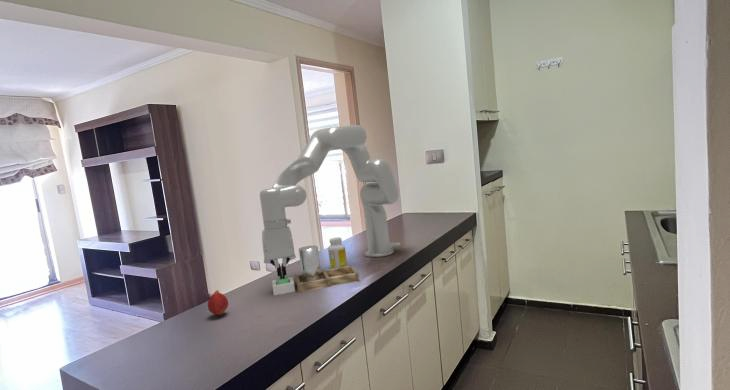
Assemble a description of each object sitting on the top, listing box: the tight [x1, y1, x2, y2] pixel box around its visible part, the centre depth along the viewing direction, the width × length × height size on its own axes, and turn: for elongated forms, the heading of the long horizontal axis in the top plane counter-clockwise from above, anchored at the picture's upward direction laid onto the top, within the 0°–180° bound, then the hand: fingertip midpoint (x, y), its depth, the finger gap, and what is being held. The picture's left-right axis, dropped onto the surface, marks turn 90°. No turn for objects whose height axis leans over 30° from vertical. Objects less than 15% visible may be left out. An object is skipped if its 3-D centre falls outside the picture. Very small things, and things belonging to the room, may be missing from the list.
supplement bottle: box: [327, 236, 348, 269], centre depth 152 cm, size 7×7×13 cm
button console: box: [271, 276, 296, 296], centre depth 133 cm, size 7×7×4 cm
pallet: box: [294, 265, 360, 293], centre depth 138 cm, size 21×12×4 cm, turn 104°
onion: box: [207, 289, 229, 317], centre depth 119 cm, size 6×6×8 cm
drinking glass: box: [298, 245, 322, 283], centre depth 136 cm, size 7×7×13 cm
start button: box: [276, 275, 290, 285], centre depth 133 cm, size 4×4×5 cm
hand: (282, 277), depth 133 cm, fingers closed
